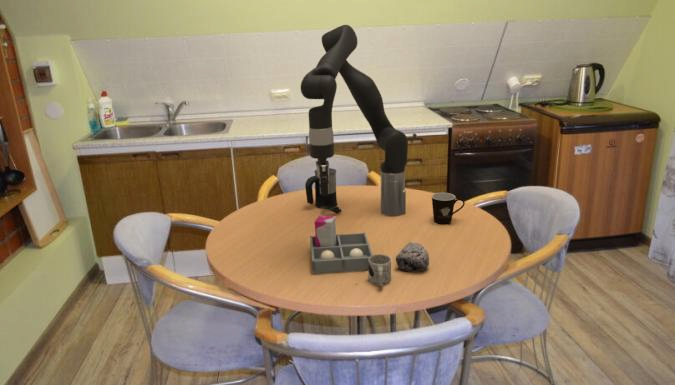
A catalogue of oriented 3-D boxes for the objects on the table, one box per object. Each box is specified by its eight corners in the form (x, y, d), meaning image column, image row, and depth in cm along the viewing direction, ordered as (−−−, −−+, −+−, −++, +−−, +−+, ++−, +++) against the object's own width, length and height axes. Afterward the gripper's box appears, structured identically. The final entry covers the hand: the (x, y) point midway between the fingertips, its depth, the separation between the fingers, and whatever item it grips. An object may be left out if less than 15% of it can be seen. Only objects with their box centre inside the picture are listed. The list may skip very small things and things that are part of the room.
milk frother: (324, 199, 220) (323, 166, 215) (355, 206, 211) (354, 172, 206) (303, 210, 209) (301, 175, 204) (334, 218, 200) (332, 181, 195)
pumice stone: (406, 283, 156) (436, 269, 157) (400, 262, 152) (430, 249, 154) (393, 267, 165) (421, 254, 167) (387, 247, 162) (415, 234, 163)
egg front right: (334, 259, 165) (333, 247, 163) (335, 266, 161) (334, 253, 159) (320, 260, 164) (319, 248, 163) (321, 267, 160) (320, 254, 159)
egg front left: (362, 258, 165) (362, 245, 164) (364, 264, 161) (364, 251, 160) (348, 258, 165) (348, 246, 164) (350, 265, 161) (349, 252, 159)
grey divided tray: (365, 244, 177) (365, 232, 175) (374, 270, 159) (373, 257, 158) (310, 247, 175) (310, 236, 174) (313, 274, 158) (312, 261, 156)
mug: (368, 274, 157) (368, 254, 155) (390, 273, 157) (390, 254, 154) (369, 291, 148) (368, 270, 145) (392, 290, 147) (392, 270, 145)
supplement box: (337, 247, 173) (336, 215, 170) (332, 255, 168) (331, 222, 164) (320, 246, 175) (318, 214, 171) (315, 253, 169) (314, 221, 165)
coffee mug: (428, 224, 191) (429, 199, 188) (433, 216, 199) (434, 191, 195) (460, 228, 187) (461, 202, 184) (464, 219, 195) (465, 194, 191)
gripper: (335, 146, 152) (337, 197, 158) (331, 135, 166) (333, 183, 171) (310, 147, 152) (312, 199, 157) (308, 136, 165) (310, 184, 170)
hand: (323, 191), depth 164 cm, fingers open, 8 cm apart
